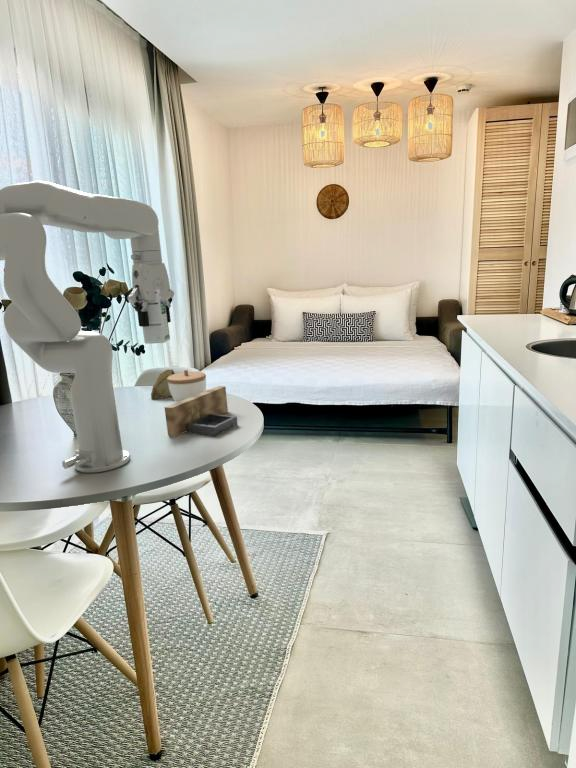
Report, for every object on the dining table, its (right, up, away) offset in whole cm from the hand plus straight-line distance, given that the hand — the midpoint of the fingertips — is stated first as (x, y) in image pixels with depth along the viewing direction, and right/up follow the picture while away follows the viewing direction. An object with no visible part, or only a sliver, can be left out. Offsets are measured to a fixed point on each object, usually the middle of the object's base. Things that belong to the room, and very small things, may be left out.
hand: (155, 323), depth 144 cm
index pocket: (+16, -29, +2) cm, 33 cm away
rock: (-7, -21, +41) cm, 47 cm away
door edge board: (+11, -28, +8) cm, 31 cm away
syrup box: (0, -5, +1) cm, 5 cm away
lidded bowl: (+4, -23, +31) cm, 39 cm away
